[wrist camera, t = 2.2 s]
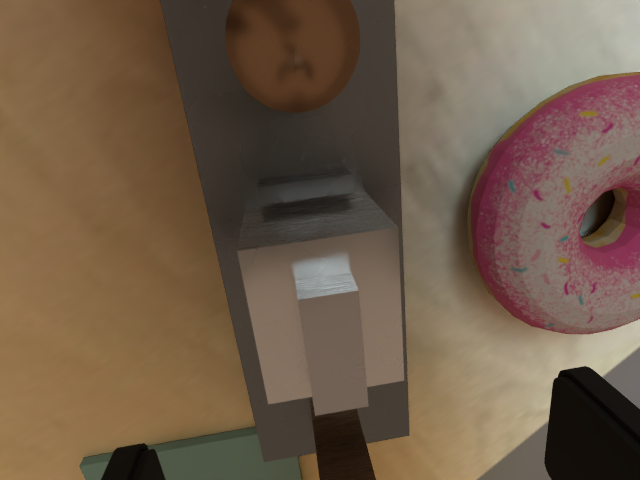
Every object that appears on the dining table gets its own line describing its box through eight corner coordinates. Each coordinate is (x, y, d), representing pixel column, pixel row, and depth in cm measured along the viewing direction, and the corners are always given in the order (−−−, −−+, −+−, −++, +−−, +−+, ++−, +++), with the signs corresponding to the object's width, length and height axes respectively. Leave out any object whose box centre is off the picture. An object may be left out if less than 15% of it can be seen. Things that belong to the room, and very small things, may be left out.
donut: (401, 215, 22) (437, 249, 17) (595, 8, 19) (700, -17, 14) (541, 339, 26) (600, 394, 21) (715, 185, 23) (825, 209, 19)
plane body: (388, 384, 26) (457, 554, 16) (264, 406, 25) (262, 595, 16) (366, -12, 17) (477, -126, 8) (181, 6, 17) (73, -92, 8)
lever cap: (373, 315, 19) (415, 404, 13) (268, 332, 18) (268, 431, 13) (365, 192, 17) (411, 241, 11) (245, 208, 16) (233, 267, 11)
